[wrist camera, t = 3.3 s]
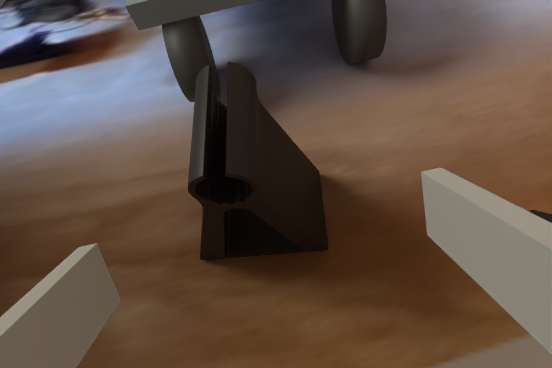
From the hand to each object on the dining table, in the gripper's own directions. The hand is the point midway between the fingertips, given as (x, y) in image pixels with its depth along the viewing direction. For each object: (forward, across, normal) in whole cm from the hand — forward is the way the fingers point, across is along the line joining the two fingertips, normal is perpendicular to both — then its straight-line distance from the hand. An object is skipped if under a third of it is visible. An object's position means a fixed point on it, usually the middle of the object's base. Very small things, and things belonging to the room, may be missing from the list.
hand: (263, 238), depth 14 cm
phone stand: (+11, -1, -4) cm, 12 cm away
